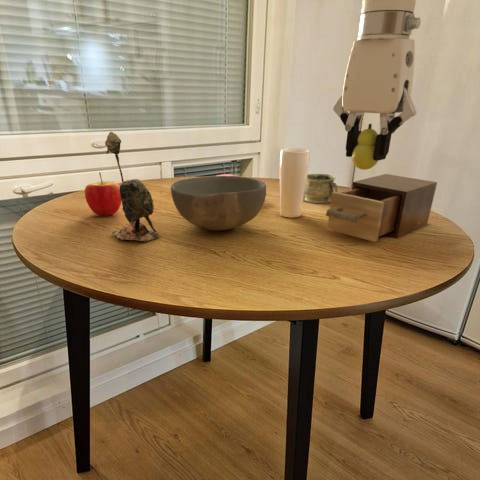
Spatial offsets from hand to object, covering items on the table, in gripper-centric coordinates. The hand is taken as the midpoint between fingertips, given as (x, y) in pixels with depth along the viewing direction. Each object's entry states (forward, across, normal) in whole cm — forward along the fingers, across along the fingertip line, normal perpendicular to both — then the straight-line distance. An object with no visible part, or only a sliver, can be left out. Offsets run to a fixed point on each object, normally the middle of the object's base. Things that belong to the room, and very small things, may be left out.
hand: (365, 156), depth 73 cm
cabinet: (+18, +5, -23) cm, 29 cm away
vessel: (+18, +30, -30) cm, 46 cm away
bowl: (+18, +29, +8) cm, 35 cm away
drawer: (+17, +5, -11) cm, 21 cm away
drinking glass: (+18, +25, -12) cm, 33 cm away
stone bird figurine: (+18, +35, +25) cm, 46 cm away
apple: (+17, +55, +20) cm, 61 cm away
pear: (+2, 0, 0) cm, 2 cm away
